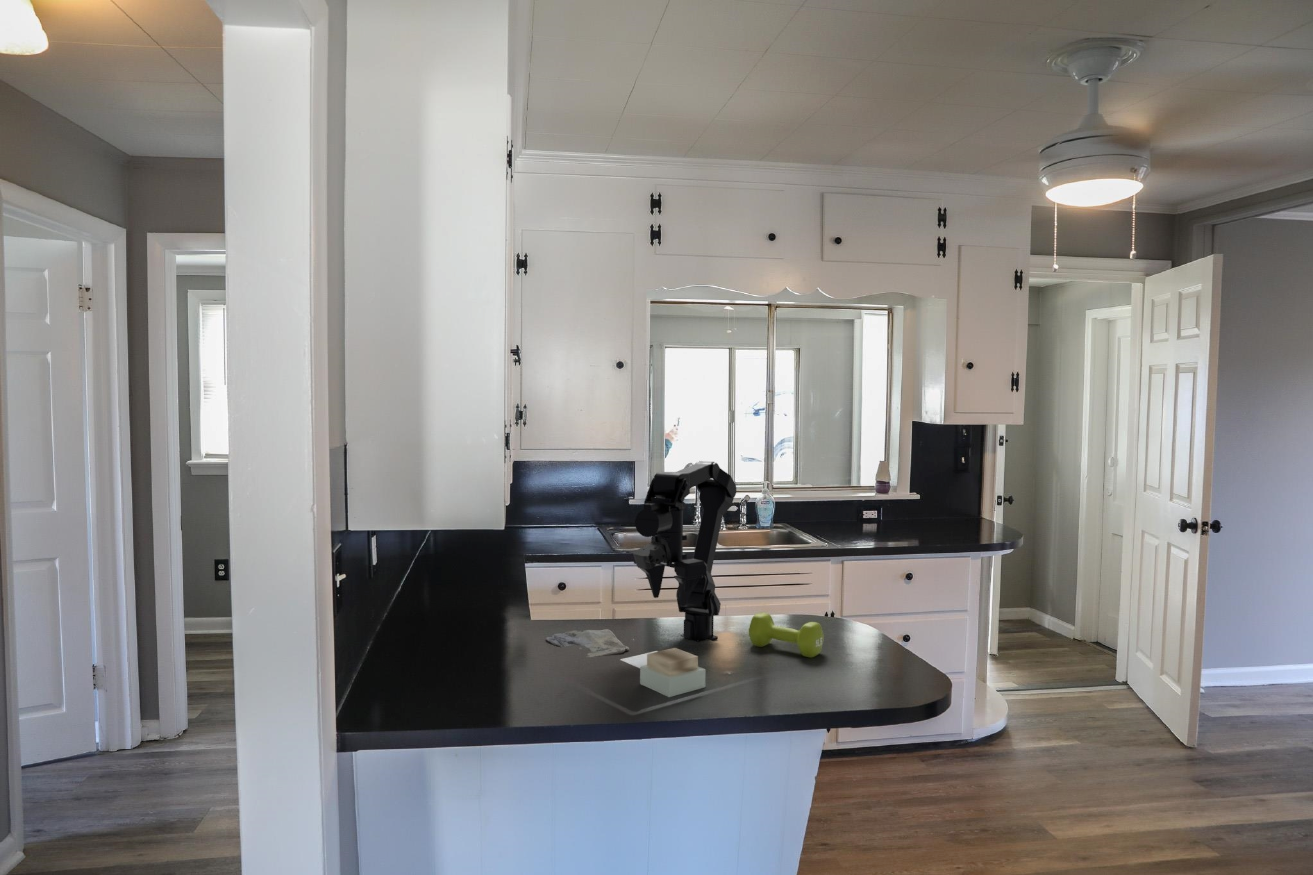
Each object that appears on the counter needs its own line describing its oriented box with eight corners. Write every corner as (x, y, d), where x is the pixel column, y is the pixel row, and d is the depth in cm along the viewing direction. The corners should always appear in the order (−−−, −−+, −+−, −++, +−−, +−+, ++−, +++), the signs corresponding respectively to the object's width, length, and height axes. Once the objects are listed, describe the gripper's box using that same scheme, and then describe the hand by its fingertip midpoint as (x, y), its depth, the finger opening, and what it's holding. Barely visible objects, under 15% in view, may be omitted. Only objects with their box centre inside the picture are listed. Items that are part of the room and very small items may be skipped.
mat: (656, 653, 183) (656, 650, 183) (685, 665, 175) (685, 662, 175) (619, 662, 177) (619, 659, 177) (648, 674, 169) (648, 671, 169)
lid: (674, 659, 166) (674, 647, 166) (697, 669, 161) (697, 656, 161) (646, 666, 162) (647, 654, 162) (669, 676, 156) (669, 663, 156)
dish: (675, 677, 168) (675, 657, 168) (705, 689, 161) (705, 669, 160) (640, 686, 162) (640, 666, 162) (669, 700, 155) (669, 678, 155)
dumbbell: (744, 647, 189) (745, 616, 188) (762, 639, 195) (763, 609, 195) (810, 662, 179) (810, 628, 178) (827, 653, 185) (827, 621, 185)
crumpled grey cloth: (632, 657, 182) (632, 646, 182) (565, 665, 177) (565, 654, 177) (608, 635, 199) (607, 625, 199) (545, 642, 193) (545, 632, 193)
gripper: (614, 528, 182) (614, 598, 183) (667, 540, 168) (667, 616, 168) (654, 523, 189) (653, 591, 190) (709, 534, 175) (708, 608, 175)
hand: (669, 601), depth 181 cm, fingers open, 9 cm apart
